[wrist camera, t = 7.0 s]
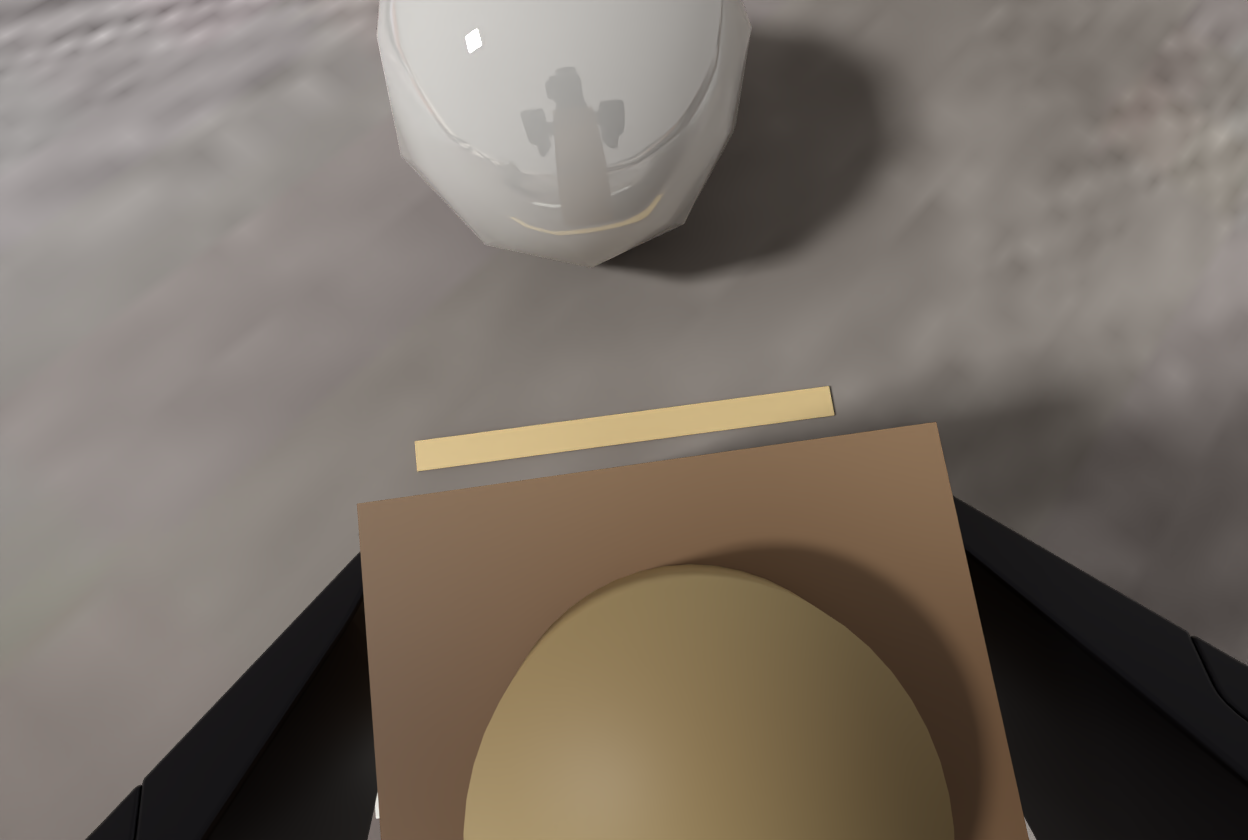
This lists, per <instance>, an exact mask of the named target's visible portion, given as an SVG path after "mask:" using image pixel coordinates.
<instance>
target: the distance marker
mask: <svg viewBox="0 0 1248 840" xmlns="http://www.w3.org/2000/svg"><path fill="white" fill-rule="evenodd" d="M826 416H834V410H833V405H832V400H831V394H830V389H829V386H826V387H818V388H811V389H803V390H796V391H788V392H781V393H773V394H766V395H758V396H751V397H743V398H736V399H728V400H721V401H713V402H706V403H698V404H691V405H683V406H676V407H668V408H661V409H653V410H646V411H639V412H631V413H624V414H616V415H609V416H601V417H594V418H586V419H579V420H571V421H564V422H556V423H549V424H541V425H534V426H526V427H519V428H511V429H504V430H496V431H489V432H481V433H474V434H466V435H459V436H451V437H444V438H436V439H429V440H421V441H415V450H416V462H417V471H424V470H431V469H439V468H446V467H454V466H461V465H468V464H476V463H483V462H491V461H498V460H506V459H513V458H521V457H528V456H535V455H543V454H550V453H558V452H565V451H573V450H580V449H588V448H595V447H603V446H610V445H617V444H625V443H632V442H640V441H647V440H655V439H662V438H670V437H677V436H684V435H692V434H699V433H707V432H714V431H722V430H729V429H737V428H744V427H752V426H759V425H766V424H774V423H781V422H789V421H796V420H804V419H811V418H819V417H826Z"/></svg>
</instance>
